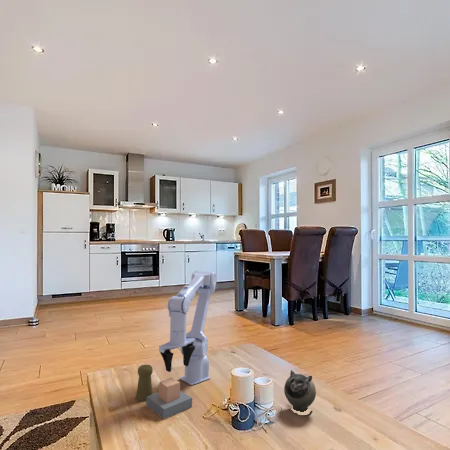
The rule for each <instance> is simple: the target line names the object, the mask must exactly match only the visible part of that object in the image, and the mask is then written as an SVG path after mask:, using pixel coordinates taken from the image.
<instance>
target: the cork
mask: <svg viewBox="0 0 450 450" xmlns="http://www.w3.org/2000/svg"><path fill="white" fill-rule="evenodd" d="M152 374H153V367H152V365H150V364H142V365H139V366H138V369H137V375H138V381H137V387H136V392H135V393H136V394H135V400H136V401H138V402H146V396H149V395H152V394H154V393H153V382H152Z"/></svg>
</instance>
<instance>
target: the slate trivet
mask: <svg viewBox="0 0 450 450" xmlns="http://www.w3.org/2000/svg"><path fill="white" fill-rule="evenodd" d="M145 406H146V407H147V408H149V410H151V411H152V412H154V413H155V414H157V415H158V416H159V417H161V418H162V419H163V420H166V419H168V418H170V417H172V416H175V415H177V414H179V413H182V412H184V411H186V410H188V409H190V408H193V397H191V396H190V395H189V394H186V393H185V392H183V391H181V390H180V398H178V399H175V400H173V401H170V402H168V403H167V402H166V401H164V400H163V399H161V398H160V397H159V391H158V392H155V393H153V394H152V395H149V396H146V401H145Z"/></svg>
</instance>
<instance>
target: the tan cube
mask: <svg viewBox="0 0 450 450" xmlns="http://www.w3.org/2000/svg"><path fill="white" fill-rule="evenodd" d="M158 383H159V384H158V392H159V397H160V398H161V399H163V400H164V401H166V402H167V403H168V402H170V401H173V400H175V399H178V398H180V391H181V382H180V381H178V380H176V379H175V378H173V377H170V378H167V379H164V380H161V381H159V382H158Z"/></svg>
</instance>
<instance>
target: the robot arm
mask: <svg viewBox="0 0 450 450" xmlns="http://www.w3.org/2000/svg"><path fill="white" fill-rule="evenodd" d="M216 286H217V274H216V272H215V271H203V270H202V271H200V270H194V271H193V272H192V273H191V280H190V282H189V283H188V284H187V285H186V284H185V285H184V286H183V287H182V288H181V289H180V291H179V292H178V293H177V294H176V295H172V296H171V297H170V298H169V299H168V302H167V311H168V317H170V320H169V321H170V323H169V324H170V327H169V329H170V331H169V341H168V342H165V343H164V344H161V345H159V346H158V348H159V349H158V351H159V354H160V355H161V356H162V359H163V362H164V366H165V370H166V371H167V373H170V372H172V362H173V357H174V353H173V352H172V350H175V349H180V353H181V355H182V356H183V357H182V359H183V360H182V362H183V365H184V375H183V376H180V378H179V379H180V380H181V381H183V382H185V383H187V384H188V385H191V386H193V385H197V384H199V383H201V382H204V381H207V380H210V378H211V377H210V375H209V371H210V370H209V369H210V368H209V367H210V365H209V364H210V361H209V358H208V356H207V352H208V343H209V340H208V337H207V336H206V335H205V334H204V328H205V325H206V318H207V314H208V309H209V304H210V298H211V295H212V294H214V293H215V291H216ZM197 293H198V298H197V303H196V308H195V311H194V317H193V321H192V326H191V330H190V331H189V332H187V313H188V312H189V310H190V306H191V304H192V303H191V302H192V301H193V300H194V298H195V297H196V295H197Z"/></svg>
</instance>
